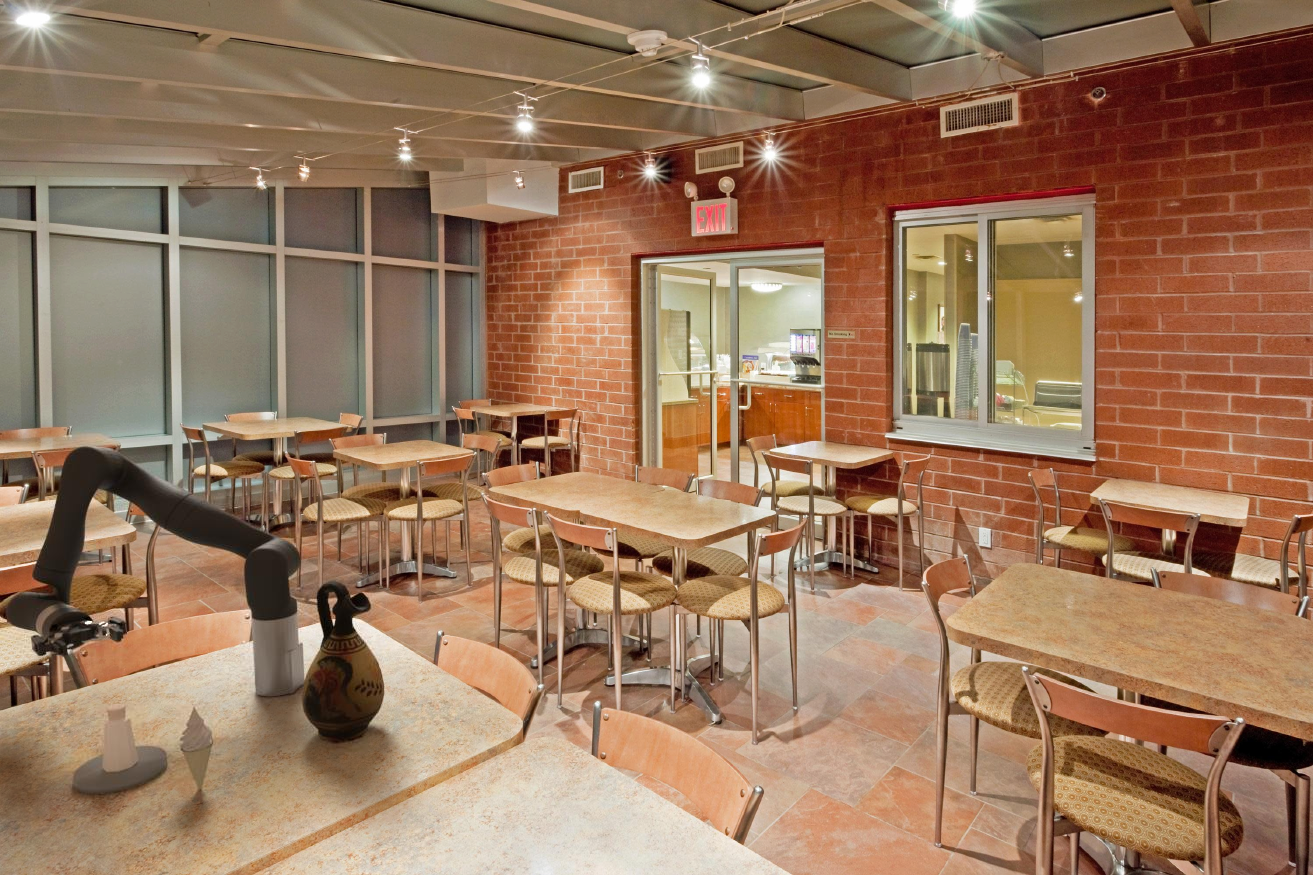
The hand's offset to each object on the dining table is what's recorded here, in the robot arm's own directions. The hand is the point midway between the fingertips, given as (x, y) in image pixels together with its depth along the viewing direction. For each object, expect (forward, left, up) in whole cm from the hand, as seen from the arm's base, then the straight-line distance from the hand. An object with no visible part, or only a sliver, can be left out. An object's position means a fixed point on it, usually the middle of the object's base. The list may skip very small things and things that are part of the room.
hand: (92, 643), depth 149 cm
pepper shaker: (-8, +7, -20) cm, 23 cm away
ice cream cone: (-26, +12, -22) cm, 35 cm away
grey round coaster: (-9, +7, -21) cm, 24 cm away
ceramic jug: (-42, -10, -22) cm, 48 cm away
